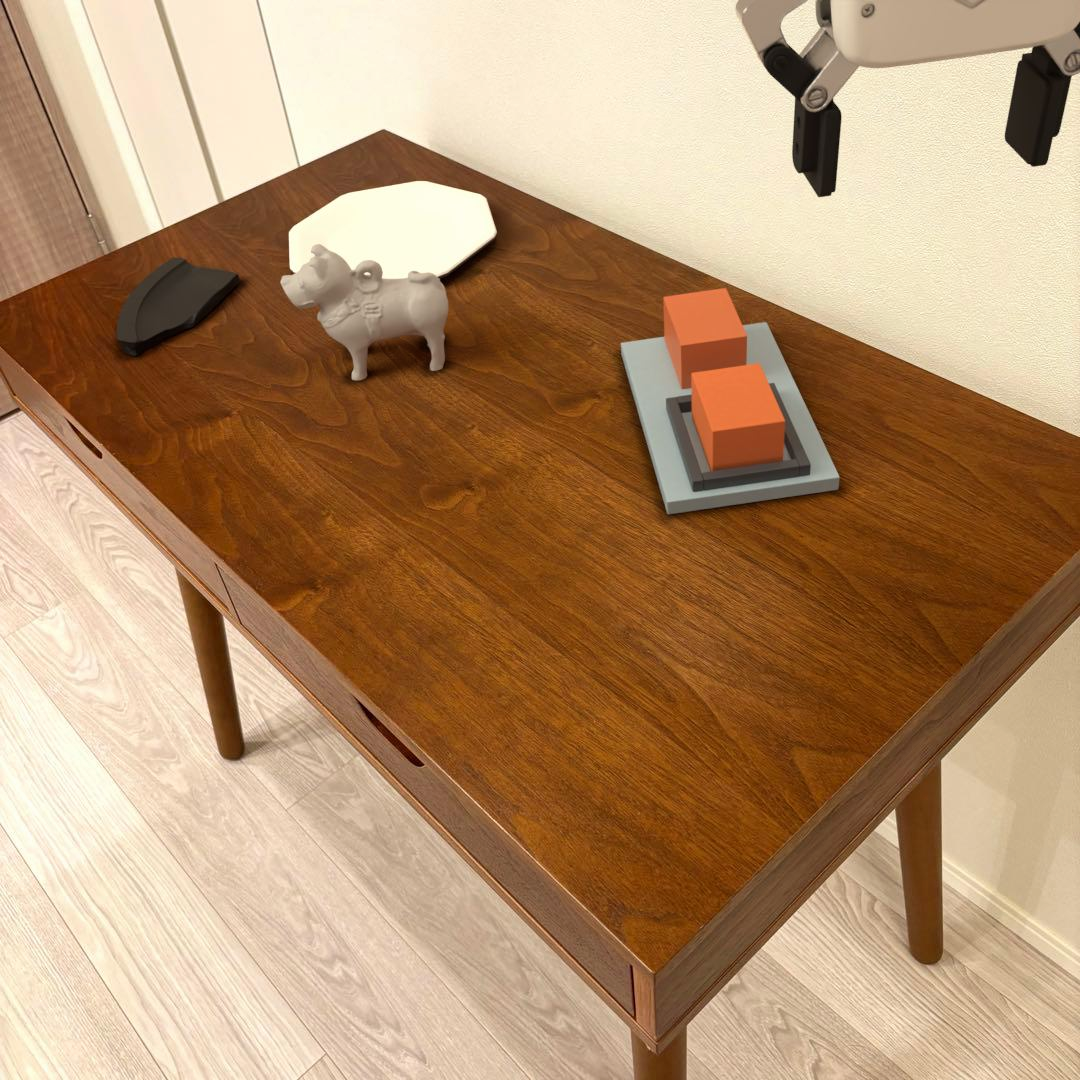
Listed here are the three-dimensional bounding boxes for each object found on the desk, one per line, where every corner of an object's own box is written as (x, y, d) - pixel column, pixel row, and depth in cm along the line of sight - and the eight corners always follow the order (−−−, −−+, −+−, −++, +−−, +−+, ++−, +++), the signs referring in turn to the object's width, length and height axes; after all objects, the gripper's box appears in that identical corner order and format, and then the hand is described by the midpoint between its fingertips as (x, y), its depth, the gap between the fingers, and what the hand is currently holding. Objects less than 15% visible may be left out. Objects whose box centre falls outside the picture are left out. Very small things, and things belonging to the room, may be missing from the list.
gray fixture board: (765, 334, 94) (768, 278, 90) (838, 490, 79) (845, 430, 76) (621, 354, 94) (618, 299, 90) (667, 515, 79) (665, 456, 75)
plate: (291, 216, 118) (287, 202, 116) (479, 183, 119) (477, 170, 118) (294, 315, 103) (290, 300, 102) (508, 277, 104) (506, 262, 103)
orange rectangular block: (758, 407, 85) (759, 362, 82) (782, 466, 80) (785, 420, 77) (691, 417, 85) (691, 372, 82) (712, 476, 80) (712, 431, 77)
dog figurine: (308, 354, 98) (276, 242, 91) (455, 333, 98) (435, 219, 91) (305, 389, 94) (271, 275, 87) (458, 367, 94) (437, 251, 87)
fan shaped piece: (83, 347, 103) (76, 331, 102) (176, 271, 111) (170, 256, 110) (156, 361, 100) (150, 345, 99) (245, 282, 108) (240, 266, 107)
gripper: (770, -234, 38) (755, 234, 50) (1281, -304, 38) (1146, 178, 50) (720, -268, 44) (716, 160, 55) (1167, -330, 44) (1069, 110, 55)
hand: (920, 168), depth 52 cm, fingers open, 9 cm apart
